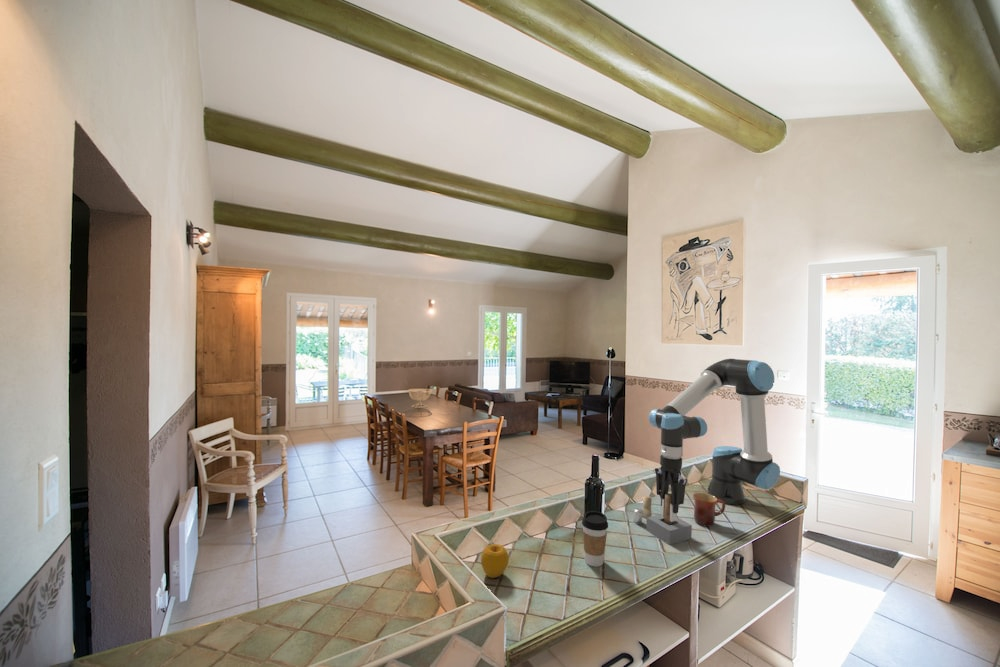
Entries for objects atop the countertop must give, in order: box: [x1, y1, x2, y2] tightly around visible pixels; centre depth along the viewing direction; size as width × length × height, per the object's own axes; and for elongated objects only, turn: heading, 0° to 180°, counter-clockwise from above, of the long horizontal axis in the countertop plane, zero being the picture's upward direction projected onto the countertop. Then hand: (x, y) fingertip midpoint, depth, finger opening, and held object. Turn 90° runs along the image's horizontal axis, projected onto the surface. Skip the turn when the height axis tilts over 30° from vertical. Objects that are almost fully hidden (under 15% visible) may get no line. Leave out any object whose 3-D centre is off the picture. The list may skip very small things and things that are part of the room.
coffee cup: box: [581, 510, 609, 568], centre depth 136 cm, size 8×8×15 cm
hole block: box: [645, 513, 693, 545], centre depth 155 cm, size 11×11×5 cm
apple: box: [480, 543, 509, 579], centre depth 128 cm, size 8×8×9 cm
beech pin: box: [642, 495, 653, 519], centre depth 169 cm, size 3×3×8 cm
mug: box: [692, 492, 726, 527], centre depth 165 cm, size 12×9×10 cm
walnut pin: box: [664, 492, 674, 525], centre depth 155 cm, size 3×3×14 cm
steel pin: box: [633, 507, 643, 526], centre depth 164 cm, size 3×3×5 cm
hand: (669, 518), depth 155 cm, fingers closed on walnut pin, 3 cm apart
